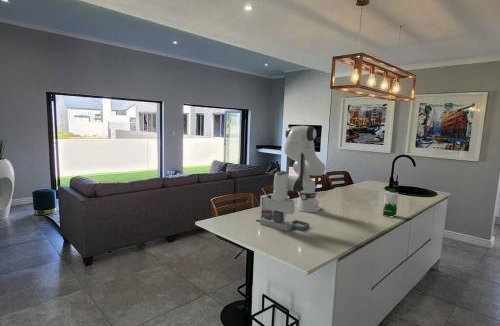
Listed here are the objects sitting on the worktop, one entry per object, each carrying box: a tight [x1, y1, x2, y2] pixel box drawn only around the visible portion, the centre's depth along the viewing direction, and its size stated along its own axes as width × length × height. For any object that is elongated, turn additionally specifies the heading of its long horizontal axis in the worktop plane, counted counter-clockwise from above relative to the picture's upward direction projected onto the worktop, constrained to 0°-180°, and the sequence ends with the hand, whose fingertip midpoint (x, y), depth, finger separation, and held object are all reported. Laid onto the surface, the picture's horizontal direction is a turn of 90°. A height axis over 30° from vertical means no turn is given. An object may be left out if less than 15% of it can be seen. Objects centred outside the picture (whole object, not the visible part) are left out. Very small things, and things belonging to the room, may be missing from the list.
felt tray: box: [289, 219, 310, 232], centre depth 188 cm, size 10×10×2 cm
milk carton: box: [382, 188, 399, 217], centre depth 221 cm, size 9×9×20 cm
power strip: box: [256, 215, 293, 232], centre depth 189 cm, size 26×7×6 cm, turn 52°
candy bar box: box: [259, 194, 274, 220], centre depth 203 cm, size 11×5×16 cm, turn 105°
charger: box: [273, 211, 285, 223], centre depth 186 cm, size 5×5×8 cm
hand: (279, 218), depth 186 cm, fingers closed on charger, 5 cm apart
